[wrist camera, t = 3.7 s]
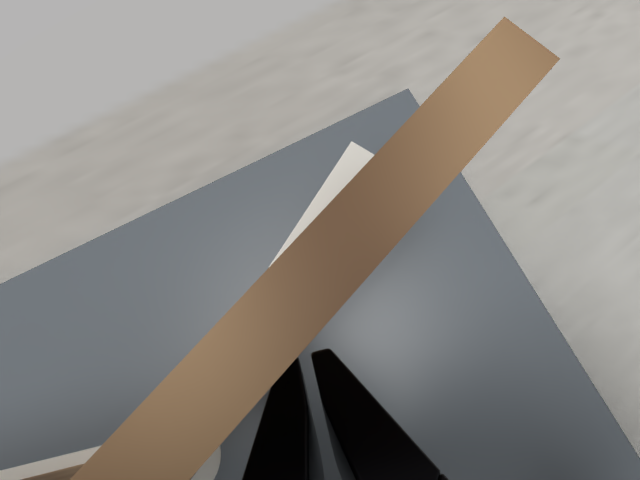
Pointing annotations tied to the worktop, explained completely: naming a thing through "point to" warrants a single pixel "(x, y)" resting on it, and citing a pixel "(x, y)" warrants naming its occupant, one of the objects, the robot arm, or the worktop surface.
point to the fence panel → (321, 267)
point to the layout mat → (338, 335)
